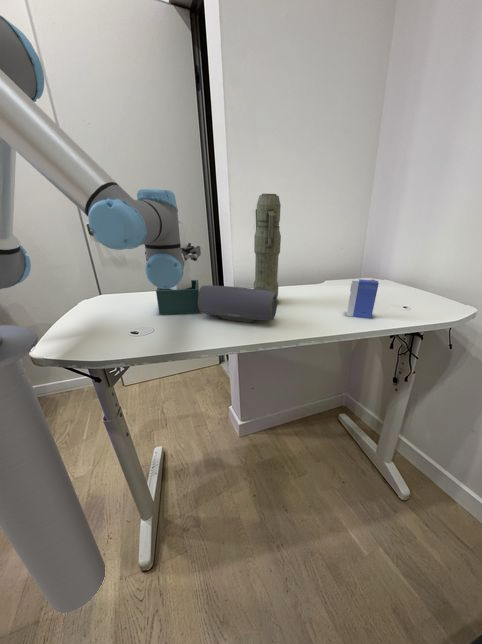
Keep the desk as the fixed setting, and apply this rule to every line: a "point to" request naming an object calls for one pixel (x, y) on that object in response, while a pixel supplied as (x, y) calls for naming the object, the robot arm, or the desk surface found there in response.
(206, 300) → the bluetooth speaker
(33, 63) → the robot arm
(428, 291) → the desk surface
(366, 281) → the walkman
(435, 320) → the desk surface
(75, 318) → the desk surface
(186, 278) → the milk
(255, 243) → the thermos
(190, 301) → the box
